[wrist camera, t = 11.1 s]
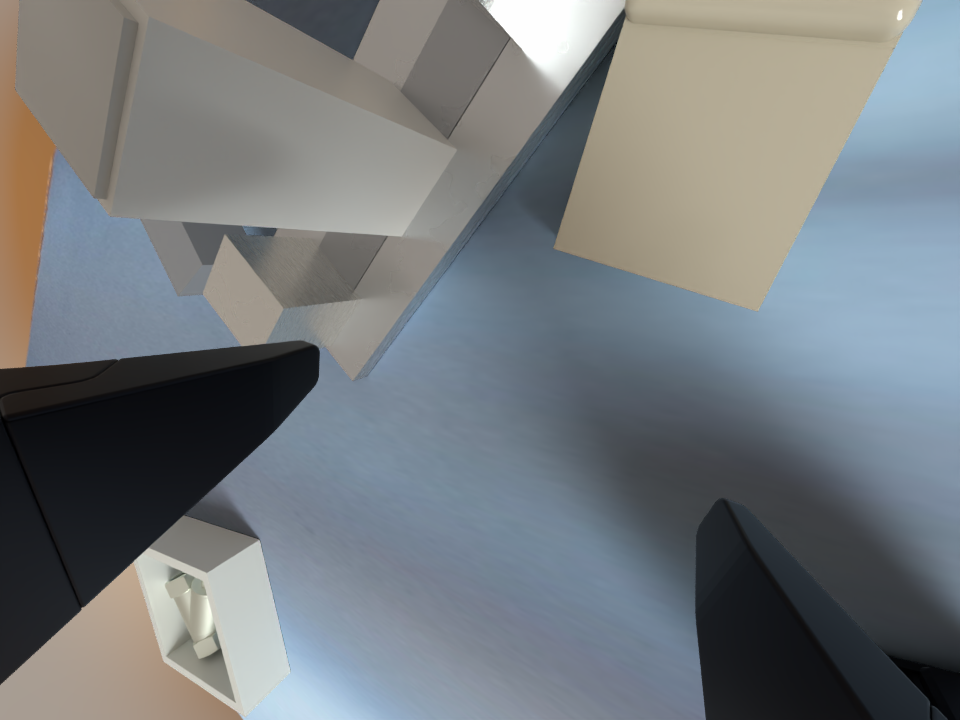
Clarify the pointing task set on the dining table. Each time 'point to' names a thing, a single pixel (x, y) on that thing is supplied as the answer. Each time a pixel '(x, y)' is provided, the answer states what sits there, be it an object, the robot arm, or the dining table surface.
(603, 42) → the rail plate
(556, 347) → the dining table surface
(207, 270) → the grey rectangular block
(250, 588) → the parts tray
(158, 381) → the robot arm
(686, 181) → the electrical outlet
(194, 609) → the pipe fitting
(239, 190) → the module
